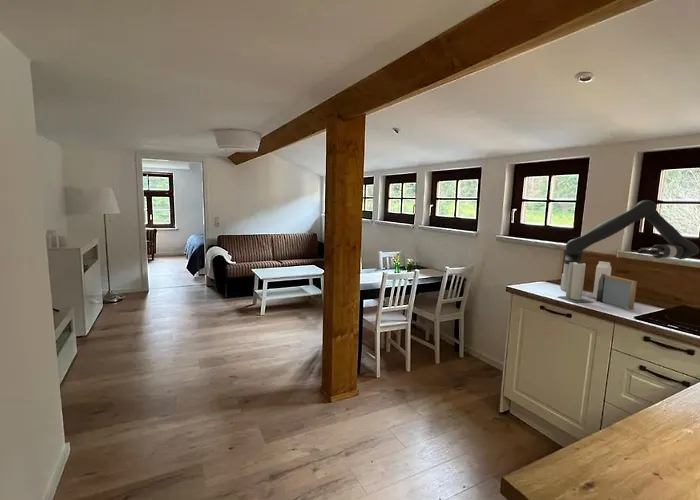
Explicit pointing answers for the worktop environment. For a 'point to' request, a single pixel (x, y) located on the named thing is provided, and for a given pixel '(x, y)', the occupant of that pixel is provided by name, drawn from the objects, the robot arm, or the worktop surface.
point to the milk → (601, 269)
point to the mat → (575, 300)
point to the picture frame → (619, 291)
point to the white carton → (575, 280)
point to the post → (600, 288)
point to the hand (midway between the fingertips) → (639, 251)
